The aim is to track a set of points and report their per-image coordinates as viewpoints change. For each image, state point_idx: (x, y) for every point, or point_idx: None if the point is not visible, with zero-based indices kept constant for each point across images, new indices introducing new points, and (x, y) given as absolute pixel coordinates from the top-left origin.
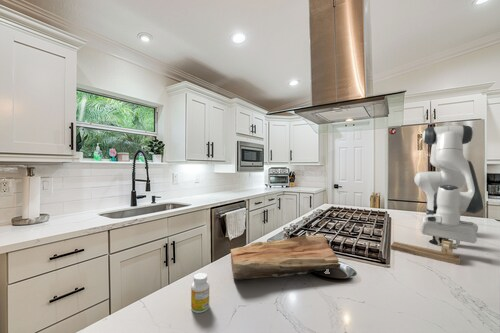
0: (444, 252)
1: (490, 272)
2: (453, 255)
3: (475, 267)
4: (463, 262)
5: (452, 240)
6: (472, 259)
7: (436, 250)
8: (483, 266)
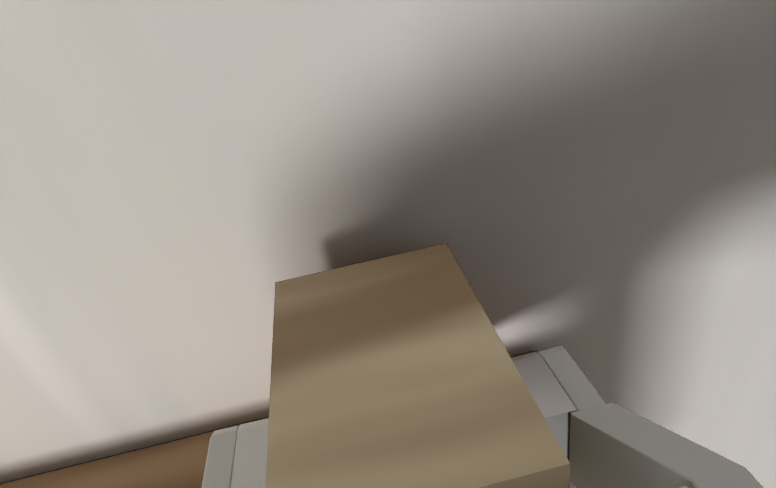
0: None
1: (769, 448)
2: None
3: None
4: None
5: (557, 474)
6: (692, 186)
7: None
8: (757, 348)
